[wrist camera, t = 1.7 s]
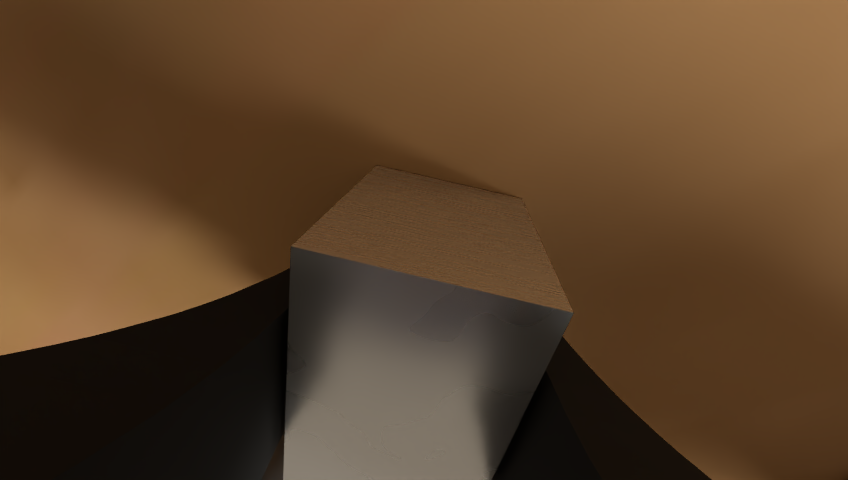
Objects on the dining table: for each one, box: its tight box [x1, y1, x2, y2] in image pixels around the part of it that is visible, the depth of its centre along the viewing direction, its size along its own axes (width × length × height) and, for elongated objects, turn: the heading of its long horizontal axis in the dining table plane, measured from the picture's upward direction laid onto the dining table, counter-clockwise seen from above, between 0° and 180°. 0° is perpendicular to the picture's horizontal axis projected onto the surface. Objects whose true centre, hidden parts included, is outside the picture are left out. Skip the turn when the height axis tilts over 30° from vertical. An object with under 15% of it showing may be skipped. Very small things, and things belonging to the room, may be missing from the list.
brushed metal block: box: [283, 165, 574, 480], centre depth 8 cm, size 4×6×5 cm, turn 168°
